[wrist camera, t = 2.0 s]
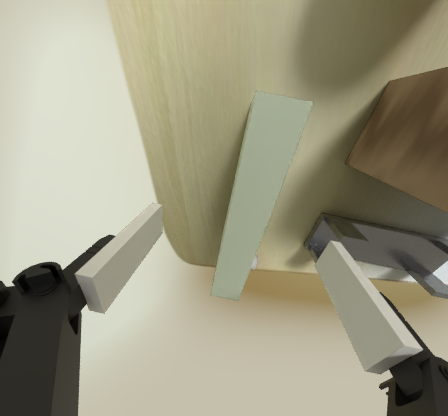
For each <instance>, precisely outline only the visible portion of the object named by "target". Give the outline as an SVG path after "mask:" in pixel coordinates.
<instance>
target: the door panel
mask: <svg viewBox="0 0 448 416" xmlns="http://www.w3.org/2000/svg"><path fill="white" fill-rule="evenodd" d="M313 103H314V102H310V101H305V100H300V99H295V98H290V97H285V96H280V95H275V94H270V93H265V92H260V91H256V93H255V95H254V98H253V100H252V102H251V106H250V110H249V115H248V119H247V124H246V128H245V133H244V138H243V142H242V147H241V151H240V156H239V161H238V165H237V170H236V174H235V179H234V184H233V188H232V193H231V197H230V202H229V207H228V211H227V216H226V220H225V225H224V230H223V234H222V239H221V244H220V250H219V255H218V260H217V265H216V270H215V275H214V280H213V285H212V291H211V295H212V296H217V297H221V298H226V299H231V300H235V301H238V300H239V298H240V295H241V292H242V290H243V287H244V284H245V282H246V279H247V277H248V274H249V271H250V269H253V270H255V269H256V266H257V255H256V253H257V250H258V248H259V245H260V242H261V240H262V237H263V235H264V232H265V229H266V227H267V224H268V221H269V219H270V216H271V213H272V211H273V208H274V206H275V203H276V200H277V198H278V195H279V192H280V190H281V187H282V185H283V182H284V179H285V177H286V174H287V171H288V169H289V166H290V163H291V161H292V158H293V156H294V153H295V150H296V148H297V145H298V142H299V140H300V137H301V134H302V132H303V129H304V127H305V124H306V121H307V119H308V116H309V113H310V111H311V108H312V106H313Z"/></svg>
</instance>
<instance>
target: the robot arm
mask: <svg viewBox="0 0 448 416" xmlns="http://www.w3.org/2000/svg"><path fill="white" fill-rule="evenodd" d="M161 234H162V205H160V204H156V203H152V204H151V205H150V206H149V207H147V208H146V209H145V210H144V211H143V212H142V213H141V214H140V215H139V216H138V217H136V218H135V219H134V220H133V221H132V222H131V223H130V224H129V225H128V226H127V227H125V228H124V229H123V230H122V231H121V232H120V233H119V234H118V235H117V236H113V235H108V236H106V237H104V238H101V239H100V240H98V241H97V242H96V243H95V244H94V245H92V247H90V248H89V249H88V250H86V252H84V253H83V254H82V255H80V256H79V257H78V258H77V259H76V260H74V261H73V262H72V263H71V264H70V265H68V266H67V267H66V268H65V269H64V270H62V268H61V266H60V265H59V264H58V263H55V262H44V263H40V264H37V265H34V266H31V267H29V268H27V269H25V270H23V271H22V272H21V273H19V274H18V275H17V276H16V277H15V278H14V280H13V281H12V283H13V284H14V285H15V286H11V287H6V286H5V285H4V283H3V282H2V281H0V416H78V397H79V369H80V344H81V316H82V314H81V310H82V308H84V306H85V305H86V304H87V306H88V308H89V310H90V311H95V312H99V313H105V312H106V311H107V309H108V307H109V306H110V305H111V303H112V302H113V301H114V299H115V298H116V297H117V295H118V294H119V293H120V291H121V290H122V288H123V287H124V286H125V284H126V283H127V281H128V280H129V279H130V277H131V276H132V274H133V273H134V271H135V270H136V269H137V268H138V266H139V265H140V263H141V262H142V261H143V259H144V258H145V256H146V255H147V253H148V252H149V251H150V249H151V248H152V247H153V245H154V244H155V243H156V241H157V240H158V238H159V237H160V236H161ZM315 267H316V270H317V272H318V274H319V276H320V278H321V280H322V282H323V284H324V286H325V288H326V291H327V293H328V295H329V297H330V299H331V301H332V303H333V305H334V307H335V309H336V311H337V314H338V316H339V318H340V320H341V322H342V324H343V326H344V328H345V330H346V333H347V334H348V337H349V339H350V341H351V343H352V345H353V347H354V349H355V352H356V354H357V356H358V358H359V360H360V362H361V364H362V366H363V368H364V370H365V371H367V372H372V373H377V374H382V373H383V372H385V371H387V370H390V372H391V374H392V375H393V378H391V379H389V380H387V381H385V382H383V383H381V384H380V386H379V388H380V389H381V390H382V389H384V388H386V387H389V391H388V392H386V394H387V395H388V407H387V416H448V362H447V361H445V360H443V359H442V358H439V357H435V356H434V355H433V354H432V352H431V351H430V350H429V349H428V347H427V346H426V345H425V344H424V342H423V341H422V340H421V339H420V337H419V336H418V335H417V334H416V332H415V331H414V330H413V329H412V327H411V326H410V325H409V324H408V322H407V321H405V319H404V317H403V316H402V315H401V314H400V313H399V312H398V310H397V309H396V307H395V306H394V305H393V304H392V303H391V301H390V300H389V299H388V298H387V297H385V296H384V295H383V294H382V293H381V292H378V290H377V289H376V288H375V287H374V285H373V284H372V283H371V281H370V280H369V279H368V277H367V276H366V275H365V274H364V272H363V271H362V270H361V268H360V267H359V266H358V264H357V263H356V262H355V261H354V259H353V258H352V257H351V255H350V254H349V253H348V252H347V250H346V249H345V248H344V246H343V245H342V244H341V242H336V241H331V240H330V242H329V243H328V245H327V247H326V248H325V250H324V251H323V253H322V254H321V256H320V257H319V259H318V261H317V262H316V264H315Z"/></svg>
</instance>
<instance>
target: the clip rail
mask: <svg viewBox="0 0 448 416" xmlns="http://www.w3.org/2000/svg"><path fill="white" fill-rule="evenodd" d="M330 240H331V241H336V242H341V244H342V245H343V246H344V248H345V249H346V250H347V252H348V253H349V254H350V255H351V257H352V258H353V259H355V260H360V261H364V262H369V263H374V264H378V265H383V266H388V267H392V268H397V269H402V270H406V271H407V272H408V273H409V274H410V275H411V276H412V277H413V278H414V279H415V280H416V281H417V282H418V283H419V284H420V285H422V287H423V288H424V289H425V290H427V292H429V293H430V294H431V295H432V296H437V297H441V298H445V299H448V286H446V285H445V284H444V283H443V282H442V281H441V280H439V279H438V278H437V277H436V276H435V275H433V274H432V273H433V272H434V271H435V270H437V269H438V268H439V267H440V266H441V265H443V264H444V263H445V262H446V261H448V240H447V239H442V238H437V237H433V236H428V235H423V234H418V233H414V232H409V231H404V230H399V229H395V228H390V227H385V226H380V225H376V224H371V223H366V222H361V221H357V220H352V219H347V218H342V217H338V216H333V215H328V214H323V213H321V215H320V217H319V219H318V220H317V222H316V224H315V226H314V228H313V229H312V231H311V233H310V235H309V236H308V238H307V240H306V242H305V244H304V246H305V248H306V249H308V250H309V251H310V253H311V255H312V257H313V260H314V262H315V264H316V262H317V261H318V259H319V257H320V256H321V254H322V253H323V251H324V250H325V248H326V247H327V245H328V243H329V242H330Z"/></svg>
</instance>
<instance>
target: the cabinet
mask: <svg viewBox="0 0 448 416" xmlns="http://www.w3.org/2000/svg"><path fill="white" fill-rule="evenodd" d="M345 164H347V165H349V166H351V167H353V168H355V169H357V170H359V171H362V172H364V173H366V174H368V175H370V176H372V177H374V178H376V179H378V180H380V181H382V182H384V183H386V184H388V185H390V186H393V187H395V188H397V189H399V190H401V191H403V192H405V193H407V194H409V195H411V196H413V197H415V198H417V199H419V200H421V201H424V202H426V203H428V204H430V205H432V206H434V207H436V208H438V209H440V210H442V211H444V212H446V213H448V67H445V68H441V69H437V70H433V71H429V72H425V73H420V74H416V75H412V76H408V77H404V78H400V79H396V80H392V81H390V82H389V84H388V86H387V87H386V89H385V91H384V93H383V95H382V96H381V98H380V100H379V102H378V104H377V106H376V107H375V109H374V111H373V113H372V115H371V117H370V118H369V120H368V122H367V124H366V126H365V128H364V129H363V131H362V133H361V135H360V137H359V139H358V140H357V142H356V144H355V146H354V148H353V149H352V151H351V153H350V155H349V157H348V159H347V160H346V162H345Z"/></svg>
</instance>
